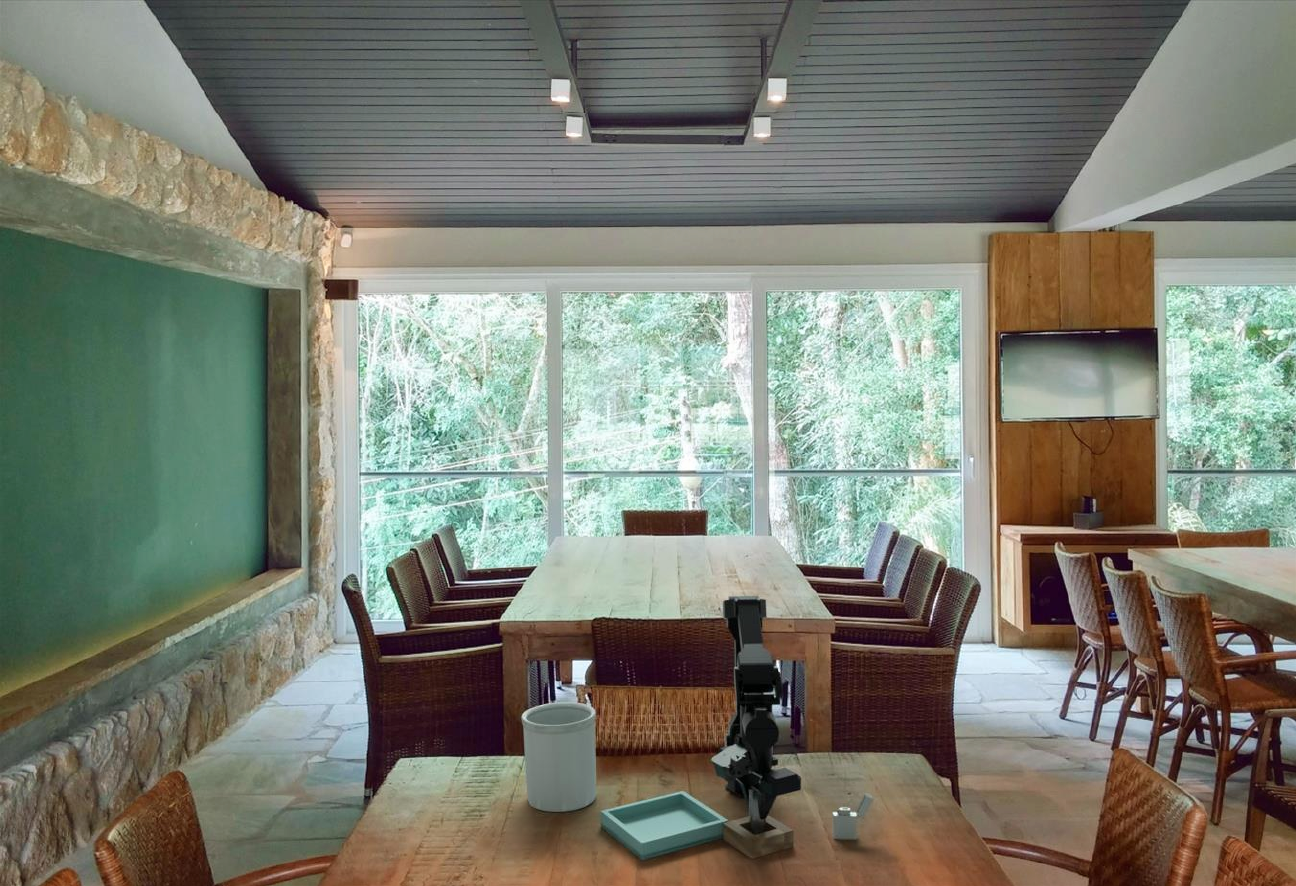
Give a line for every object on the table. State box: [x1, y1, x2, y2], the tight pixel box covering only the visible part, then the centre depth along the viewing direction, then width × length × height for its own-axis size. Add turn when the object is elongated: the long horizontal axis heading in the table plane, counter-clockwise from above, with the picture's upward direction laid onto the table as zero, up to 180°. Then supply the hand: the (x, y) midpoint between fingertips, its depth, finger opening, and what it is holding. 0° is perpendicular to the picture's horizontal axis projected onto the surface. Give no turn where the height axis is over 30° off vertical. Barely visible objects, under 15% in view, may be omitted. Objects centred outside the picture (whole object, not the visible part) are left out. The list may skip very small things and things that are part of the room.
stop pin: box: [748, 786, 766, 835], centre depth 183 cm, size 3×3×10 cm
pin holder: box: [722, 814, 795, 860], centre depth 183 cm, size 9×9×3 cm
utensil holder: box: [521, 701, 597, 813], centre depth 204 cm, size 15×15×18 cm
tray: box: [600, 790, 729, 861], centre depth 188 cm, size 18×16×3 cm
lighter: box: [832, 792, 874, 840], centre depth 184 cm, size 7×2×8 cm, turn 85°
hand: (757, 815), depth 183 cm, fingers closed on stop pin, 3 cm apart
